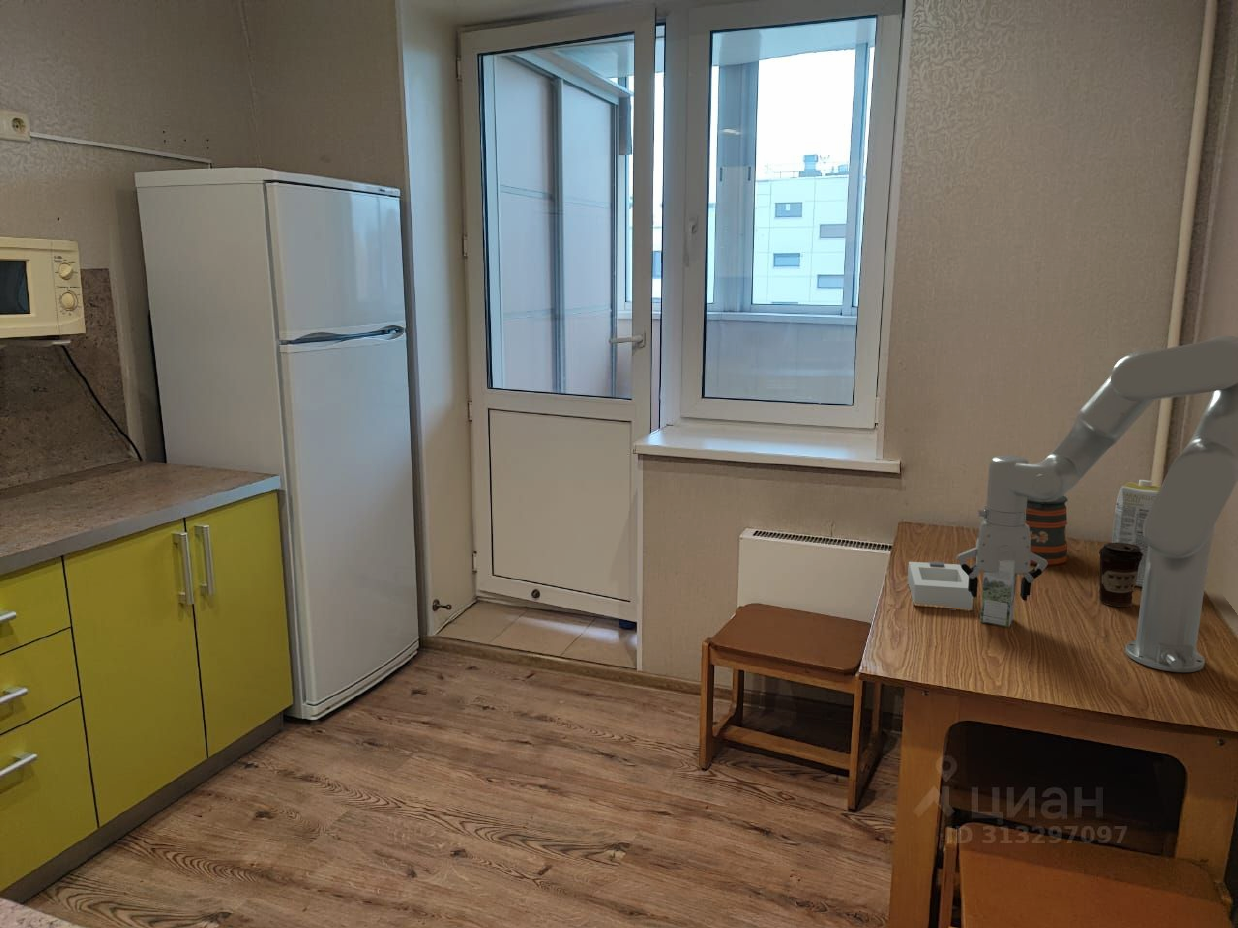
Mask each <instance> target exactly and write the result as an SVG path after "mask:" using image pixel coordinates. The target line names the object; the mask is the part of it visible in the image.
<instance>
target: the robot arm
mask: <svg viewBox="0 0 1238 928" xmlns="http://www.w3.org/2000/svg"><path fill="white" fill-rule="evenodd" d="M1205 393H1211V396H1210V400H1209V402H1208V404H1207V406H1206V408H1205V410H1204V412H1203V413H1202V416H1201V419H1200V422H1199V423H1198V425H1197V427H1196V430H1195V431H1194V433H1193V435H1192V437H1191V438H1190V440H1189V441H1188V443H1187V445H1186V447H1185V448H1183V449H1182V450H1181V452H1180V453H1179V454H1178V456H1176V457H1175V459H1174V461H1173V462H1172V464H1171V466H1170V468H1169V469H1168V472H1166V473H1167V474H1166V476H1165V478H1164V479H1163V482H1162V483H1161V486H1160V487H1161V488H1160V490H1159V492H1158V494H1157V496H1156V498H1155V500H1154V502H1153V504H1152V506H1151V508H1150V510H1149V512H1148V514H1147V516H1146V518H1145V521H1144V524H1143V535H1144V538H1145V541H1146V542H1147V544H1148V550H1147V556H1146V563H1145V571H1144V579H1143V587H1142V588H1141V597H1140V606H1139V613H1138V621H1137V628H1136V630H1137V631H1136V639H1134V640H1131V641H1129V642H1127V643H1126V644H1125V649H1124V651H1125V654H1126V655H1127V656H1128V658H1130V659H1132V660H1133V661H1134V662H1137V663H1138V664H1141V665H1144V666H1145V667H1148V668H1153V669H1157V670H1161V671H1166V672H1172V673H1194V672H1197V671H1200V670H1203V669H1204V667H1205V662H1206V660H1205V659H1206V658H1204V656H1203V655H1202V654H1200V653H1199V652H1197V645H1198V640H1199V639H1198V637H1199V631H1200V623H1201V615H1202V607H1203V602H1204V594H1205V585H1206V583H1207V582H1206V581H1207V575H1208V567H1209V560H1210V556H1211V555H1210V553H1211V548H1212V544H1213V538H1214V534H1215V533H1214V531H1215V525H1216V523H1217V521H1218V519H1219V518H1220V515H1221V514H1222V511H1223V509H1224V508H1225V506H1226V504H1227V502H1228V501H1229V498H1230V497H1231V495H1232V492H1233V491H1234V489H1235V486H1236V485H1237V482H1238V336H1234V335H1228V334H1227V335H1218V336H1214V337H1212V338H1209V339H1207V340H1205V341H1199V342H1194V343H1188V344H1183V345H1179V346H1174V347H1168V348H1163V349H1155V350H1153V349H1139V350H1136V351H1134V352H1131V353H1129V354H1127V355H1125V356H1123V357H1122V358H1121V359H1119V360H1118V361H1117V362H1116V363H1115V365H1114V367H1113V368H1112V370H1111V374H1110V376H1109V377H1107V379H1106V380H1105V382H1104V383H1103V384H1102V385H1101V386H1100V387H1099V388H1098V389H1097V391H1096V392H1095V393H1094V394H1093V395H1092V396H1091V397H1090V398H1089V399H1088V401H1087V402H1086V403H1085V404H1084V405H1083V406H1082V407H1081V409H1080V410H1079V411H1078V413H1077V414H1076V417H1075V421H1074V424H1073V426H1072V427H1071V429H1070V430H1069V431H1068V432H1067V434H1066V435H1065V437H1064V438H1062V440H1061V441H1060V442H1059V443H1058V444H1057V446H1056V447H1055V448H1054V449H1053V450H1052V451H1051V452H1050V453H1049V455H1047V457H1046V458H1045V459H1043V460H1042V461H1040V462H1037V463H1030V462H1029V460H1027V459H1026V458H1024V457H1021V456H1015V455H998V456H994V457H993V458H992V459H991V460H990V461H989V466H988V476H987V477H988V478H987V479H988V480H987V490H986V504H985V505H986V506H985V507H984V508H983V509H979V510H977V517H979V518H983V520H982V521H981V522H980V525H979V529H978V532H977V537H976V542H975V547H973V548H970V549H968V550H966V551H963V552H960V553H958V554H957V555H955V556H956V559H957V562H958V563H959V565H961V568H962V569H963V570H964V571H965V573H966V574H967V575H968V576H969V584H968V591H969V592H971V594H972V596H973V598H977V596H978V587H979V586H978V585H979V579H978V575H980V574H981V573H982V572H983V573H984V572H988V573H997V572H999V567H1000V562H999V561H1003V560H1014V561H1015V570H1014V574H1017V575H1022V576H1023V577H1022V578H1021V583H1020V593H1019V596H1020V597H1021V599H1022V601H1024V602H1027V601H1028V596H1029V597H1031V590H1032V589H1031V588H1032V583H1033V582H1034V581H1035V579H1037V578H1038V577H1039V576H1041V575H1042V574H1043V571H1045V569H1046V567H1047V566H1049V565H1048V562H1047V561H1046V560H1045V559H1043V558H1042V557H1040V556H1038V555H1036V554H1034V553H1032V552H1031V537H1030V528H1029V525H1027V524H1026V523H1025V520H1026V509H1027V498H1031V499H1034V500H1038V501H1044V502H1051V501H1055V500H1057V499H1059V498H1060V497H1062V496H1063V495H1064V496H1065V495H1066V494H1067V493H1068V492H1069V491H1071V490H1072V489H1073V488H1074V487H1075V486H1076V485H1077V484H1079V481H1080V480H1081V479H1082V478H1083V477H1084V476H1085V475H1086V474H1087V473H1088V472H1089V471H1090V470H1091V468H1092V467H1093V466H1095V464H1096V463H1097V462H1098V461H1099V460H1100V459H1101V458H1102V457H1103V455H1104V454H1105V453H1106V452H1107V451H1108V450H1109V449H1111V447H1113V446H1115V444H1116V443H1117V442H1118V441H1119V440H1121V438H1122V437H1123V436H1124V434H1126V432H1127V431H1128V430H1130V428H1131V427H1132V426H1133V425H1134V423H1136V421H1137V420H1138V419H1139V418H1140V417H1141V416H1142V415H1143V413H1144V412H1146V411H1147V409H1149V407H1151V405H1152V404H1153V403H1154V402H1155V401H1156V400H1164V399H1171V398H1177V397H1184V396H1191V395H1197V394H1198V395H1199V394H1205ZM970 558H974V559H973V560H974V561H973V562H974V564H973V565H972V566H971V567H970V566H969V565H968V564H967V561H966V560H968V559H970ZM1031 560H1033V561H1035V562H1036V563H1038V564H1037V565H1035V567H1033V568H1032V569H1031V564H1030V561H1031ZM1030 569H1031V570H1030Z"/></svg>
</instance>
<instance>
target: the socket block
mask: <svg viewBox="0 0 1238 928" xmlns="http://www.w3.org/2000/svg"><path fill="white" fill-rule="evenodd" d="M907 568H908V571H907V585H908V584H909V585H908V588H909V587H910V589H909V591H910V590H911V593H910V595H911V594H912V598H913V602H914V604H924V605H925V604H926V605H936V606H944V607H951V608H962V609H972V610H973V607H974V606H973V605H974V604H973V603H974V597H973V596H972V594H971V592H969V591H968V584H969V576H968V575H967V574H966V573H965V571H964V570H963V569H962V568H961V565H960V564H954V563H953V564H952V563H944V562H943V561H934V560H933V561H931V560H930V561H929V562H922V561H921V562H920V561H918V562H917V561H908V567H907ZM912 598H911V599H912ZM913 602H912V603H913Z"/></svg>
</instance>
